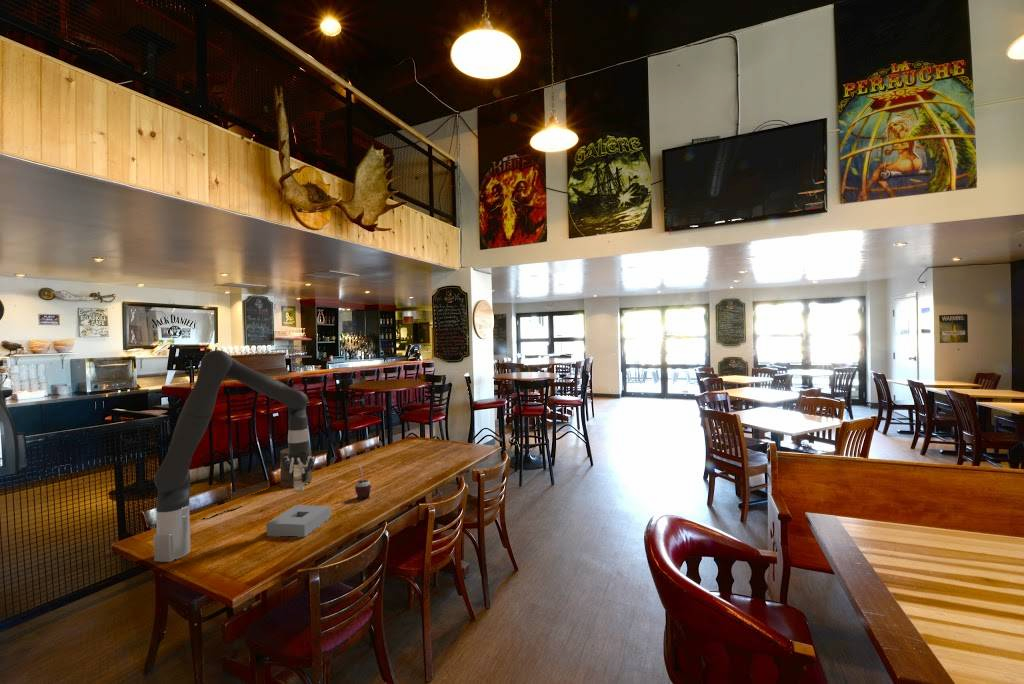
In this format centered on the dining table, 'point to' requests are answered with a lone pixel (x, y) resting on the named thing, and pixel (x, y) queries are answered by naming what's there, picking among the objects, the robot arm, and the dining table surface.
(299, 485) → the peg
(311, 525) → the socket block
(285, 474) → the wooden container
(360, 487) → the mate gourd
